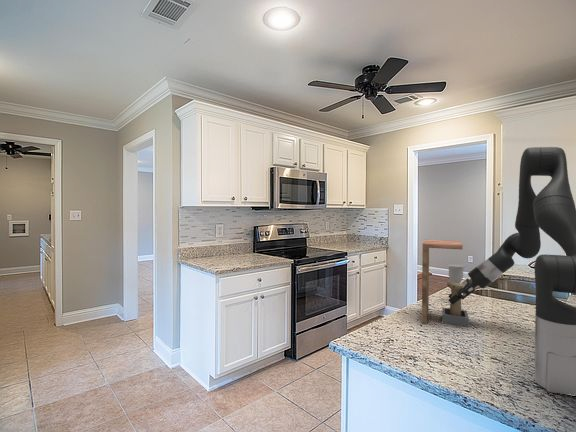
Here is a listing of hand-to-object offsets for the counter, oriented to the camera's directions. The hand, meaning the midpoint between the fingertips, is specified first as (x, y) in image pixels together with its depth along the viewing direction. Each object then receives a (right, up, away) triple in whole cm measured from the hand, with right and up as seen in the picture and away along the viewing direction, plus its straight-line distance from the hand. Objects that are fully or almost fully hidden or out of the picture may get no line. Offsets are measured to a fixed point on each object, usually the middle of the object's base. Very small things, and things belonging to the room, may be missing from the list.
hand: (450, 300), depth 125 cm
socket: (+1, -8, -1) cm, 9 cm away
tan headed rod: (+2, -9, -1) cm, 9 cm away
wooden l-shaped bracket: (-3, -8, +2) cm, 9 cm away
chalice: (+15, -8, +23) cm, 28 cm away
